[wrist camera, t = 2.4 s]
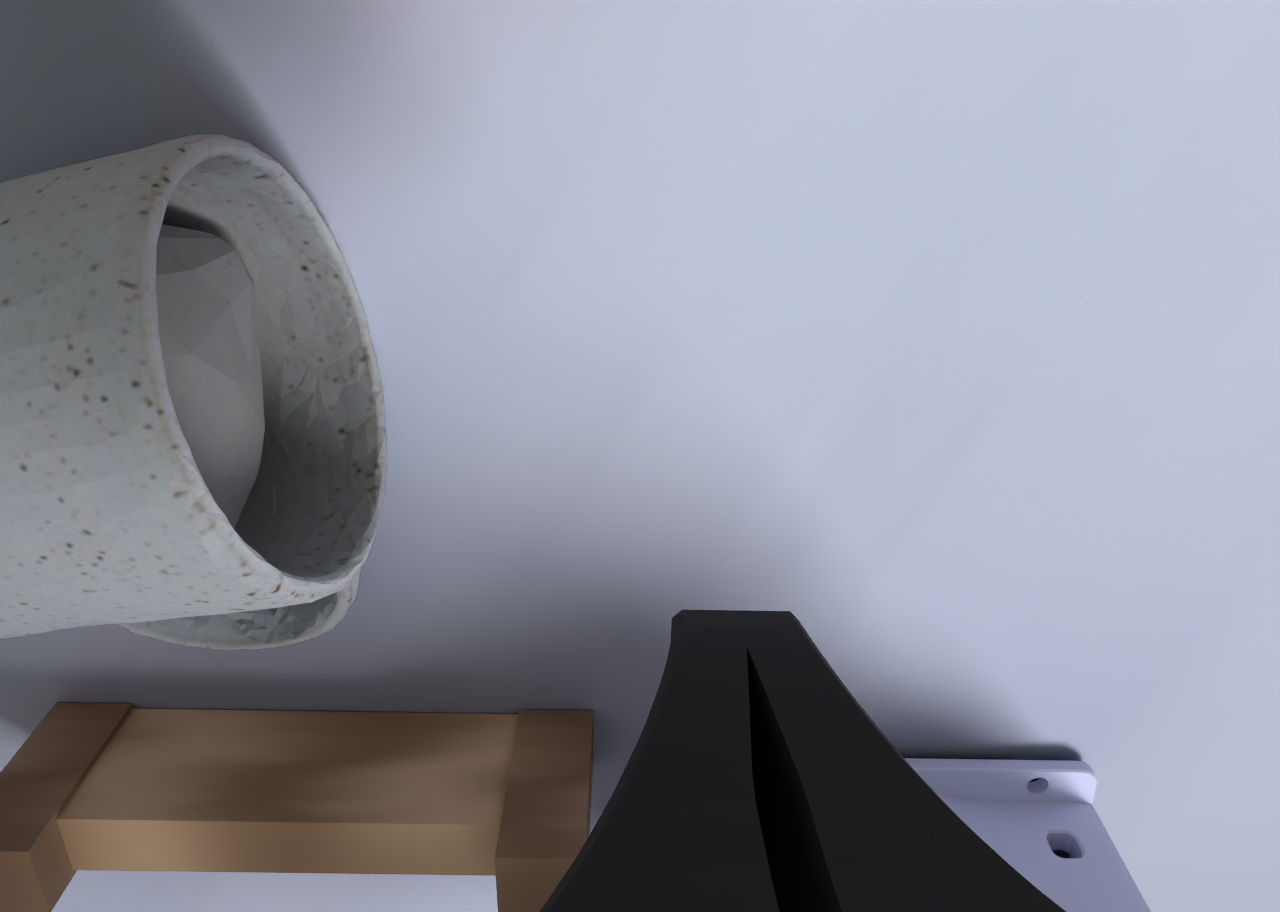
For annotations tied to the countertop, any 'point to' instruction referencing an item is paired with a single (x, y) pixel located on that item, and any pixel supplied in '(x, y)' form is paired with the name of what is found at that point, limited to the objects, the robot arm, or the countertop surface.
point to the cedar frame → (296, 796)
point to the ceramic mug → (182, 402)
